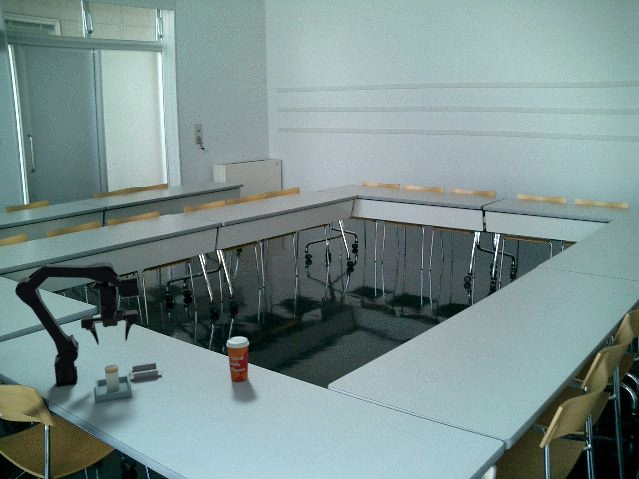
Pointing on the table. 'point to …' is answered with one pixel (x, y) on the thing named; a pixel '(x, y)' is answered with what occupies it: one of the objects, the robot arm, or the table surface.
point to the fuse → (112, 378)
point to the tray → (106, 396)
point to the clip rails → (145, 371)
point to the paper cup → (238, 358)
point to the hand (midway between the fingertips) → (112, 342)
